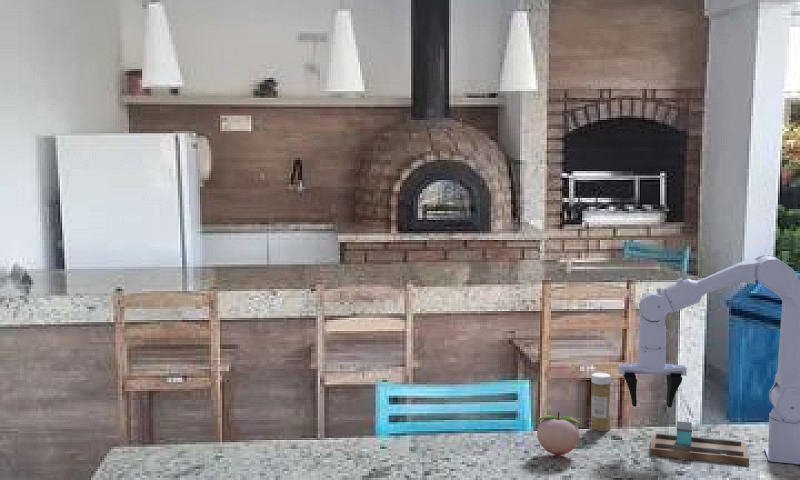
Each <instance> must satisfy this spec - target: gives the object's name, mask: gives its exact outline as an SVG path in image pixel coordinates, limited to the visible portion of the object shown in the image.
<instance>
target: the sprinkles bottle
mask: <svg viewBox="0 0 800 480" xmlns="http://www.w3.org/2000/svg"><path fill="white" fill-rule="evenodd" d="M590 376H591V378H590V379H591V381H590V382H591V429H593V430H594V429H595V430H594V431H597V432H606V431H609V430H610V429H611V383H612V377H611V375H610V374H609V373H606V372H594V373H592V374H591V375H590Z"/></svg>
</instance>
